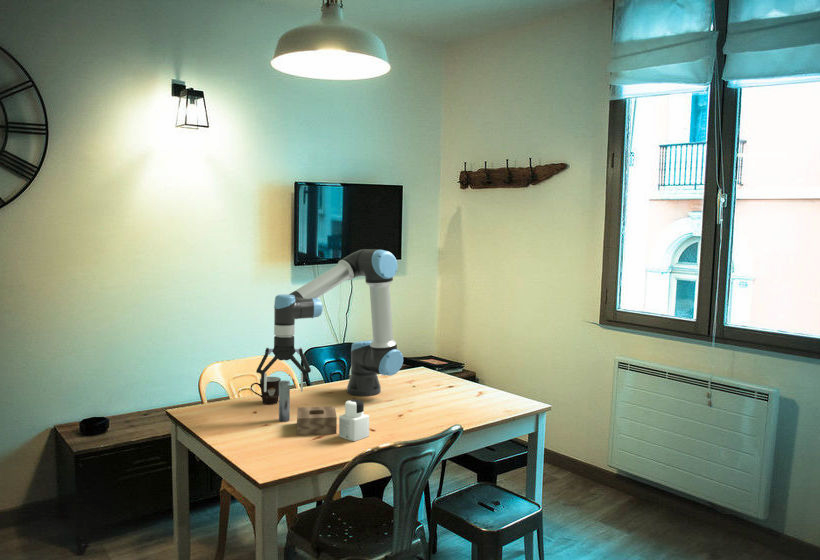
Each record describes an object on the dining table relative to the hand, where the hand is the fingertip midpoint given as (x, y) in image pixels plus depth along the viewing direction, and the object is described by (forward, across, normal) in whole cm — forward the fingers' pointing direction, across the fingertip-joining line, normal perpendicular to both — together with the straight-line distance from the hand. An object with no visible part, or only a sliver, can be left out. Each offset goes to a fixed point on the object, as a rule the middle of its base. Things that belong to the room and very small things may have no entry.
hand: (283, 391), depth 242 cm
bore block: (+11, -12, +11) cm, 20 cm away
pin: (+11, 0, 0) cm, 11 cm away
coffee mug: (+12, +8, -26) cm, 30 cm away
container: (+12, -25, +22) cm, 35 cm away
